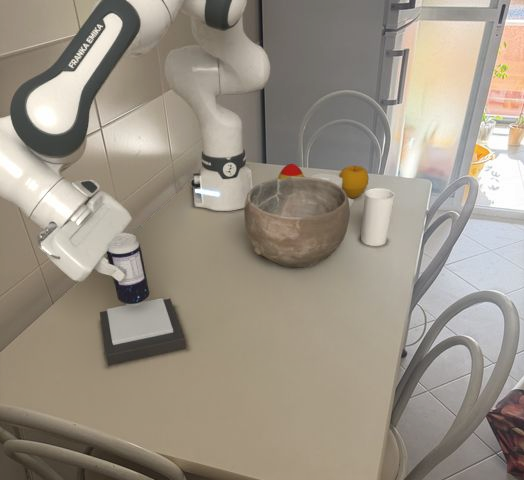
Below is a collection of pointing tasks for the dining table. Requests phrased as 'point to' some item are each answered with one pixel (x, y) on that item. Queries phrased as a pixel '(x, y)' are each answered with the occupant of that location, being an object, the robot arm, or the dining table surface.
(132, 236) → the beverage can
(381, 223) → the mug
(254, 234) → the bowl
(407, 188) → the dining table surface
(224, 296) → the dining table surface
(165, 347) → the scale
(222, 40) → the robot arm
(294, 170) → the decorative egg
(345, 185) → the apple
